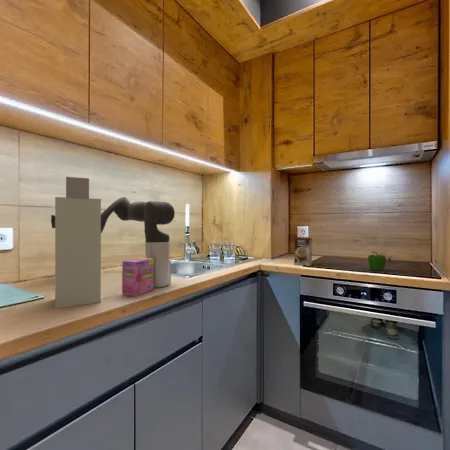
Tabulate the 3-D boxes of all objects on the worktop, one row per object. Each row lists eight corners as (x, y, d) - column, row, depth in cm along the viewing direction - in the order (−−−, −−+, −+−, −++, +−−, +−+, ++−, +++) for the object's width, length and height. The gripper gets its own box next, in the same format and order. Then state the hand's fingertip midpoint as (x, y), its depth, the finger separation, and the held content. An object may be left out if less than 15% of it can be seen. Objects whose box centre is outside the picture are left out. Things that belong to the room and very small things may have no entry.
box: (135, 296, 93) (135, 261, 93) (121, 295, 95) (121, 260, 95) (154, 290, 102) (154, 258, 102) (141, 288, 104) (141, 257, 104)
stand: (55, 298, 90) (55, 200, 90) (95, 294, 96) (95, 201, 96) (55, 308, 80) (55, 196, 79) (100, 302, 86) (100, 199, 86)
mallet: (67, 202, 99) (67, 185, 99) (85, 203, 102) (85, 186, 102) (66, 197, 81) (66, 176, 81) (89, 198, 84) (89, 178, 84)
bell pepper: (389, 271, 144) (390, 251, 144) (377, 271, 142) (377, 252, 142) (376, 268, 152) (376, 250, 152) (364, 269, 150) (364, 250, 150)
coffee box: (293, 264, 166) (294, 237, 166) (297, 263, 172) (297, 237, 172) (309, 266, 161) (309, 238, 161) (312, 264, 167) (312, 238, 167)
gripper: (90, 240, 119) (94, 220, 107) (51, 240, 112) (50, 220, 100) (89, 224, 122) (93, 204, 110) (51, 224, 115) (51, 202, 103)
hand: (73, 211), depth 105 cm, fingers open, 8 cm apart
